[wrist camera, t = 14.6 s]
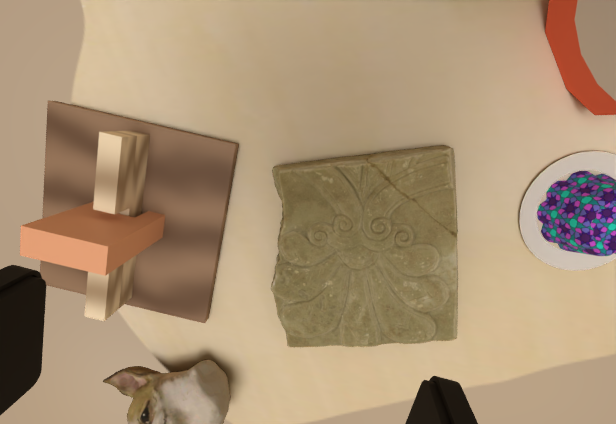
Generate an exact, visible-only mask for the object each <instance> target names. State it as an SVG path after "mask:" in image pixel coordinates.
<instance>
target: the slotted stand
mask: <svg viewBox="0 0 616 424" xmlns="http://www.w3.org/2000/svg"><path fill="white" fill-rule="evenodd" d="M47 110H48V111H47V130H46V131H47V132H46V152H45V153H46V154H45V175H44V176H45V177H44V197H43V218H46V217H49V216H52V215H55V214H58V213H61V212H64V211H67V210H70V209H73V208H76V207H79V206H82V205H85V204H88V203H91V202H94V204H93V209H94V210H98V211H102V212H106V213H110V214H117V213H118V214H122V215H126V216H131V217H137V216H139V215H141V214H143V213H145V212H148V211H151V212H155V213H159V214H163V215H165V222H164V230H163V237H162V238H161V239H159V240H158V241H156V242H155V243H153V244H152V245H150V246H149V247H147V248H146V249H144V250H143V251H141V252H140V253H139V254H137V255H136V256H134V257H133V258H131V259H130V260H128V261H127V262H125V263H124V264H122V265H121V266H119V267H118V268H116V269H115V270H113V271H112V272H110V273H109V274H107V275H106V276H104V275H100V274H96V273H92V272H88V271H84V270H79V269H75V268H71V267H67V266H63V265H58V264H54V263H50V262H46V261H42V260H41V264H40V274H41V276H42V279H43V280H45V282H46V285H48V286H52V287H56V288H60V289H64V290H69V291H73V292H77V293H81V294H85V295H86V304H85V317H90V318H94V319H98V320H102V321H105V320H106V319H107V318H108V317H110V316H111V315H112V314H113V313H114V312H115V311H117V310H118V309H119V308H120V307H121V306H122V305H124V304H127V305H131V306H135V307H139V308H143V309H147V310H152V311H156V312H160V313H164V314H168V315H172V316H177V317H181V318H185V319H189V320H193V321H197V322H202V323H205V322H206V321H207V319H208V318H209V312H210V307H211V301H212V295H213V289H214V284H215V278H216V272H217V266H218V261H219V255H220V249H221V243H222V238H223V232H224V226H225V221H226V215H227V209H228V203H229V198H230V192H231V186H232V180H233V175H234V169H235V163H236V157H237V152H238V146H239V144H237V143H233V142H229V141H225V140H220V139H216V138H212V137H207V136H203V135H199V134H194V133H190V132H186V131H182V130H177V129H173V128H169V127H164V126H160V125H156V124H152V123H147V122H143V121H139V120H134V119H130V118H126V117H122V116H117V115H113V114H109V113H104V112H100V111H96V110H92V109H87V108H83V107H79V106H74V105H70V104H65V103H62V102H57V101H48V108H47Z"/></svg>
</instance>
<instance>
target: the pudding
mask: <svg viewBox="0 0 616 424" xmlns="http://www.w3.org/2000/svg"><path fill="white" fill-rule="evenodd" d="M582 170H593V171H598V172H602V173H604V174H599V175H596V176H595V175H593V174H591V173H590V172H588V171H582ZM576 171H578V172H576ZM572 172H576V173H573V174H571V176H570V177H569V178H568V179H567V180H566V181H557V182H556V183H554V182H555V181H556V180H558V179H560V178H561V177H563V176H565V175H567V174H570V173H572ZM605 174H606V175H605ZM553 183H554V184H553ZM552 184H553V185H552ZM550 185H551V186H550ZM549 187H550V188H549ZM548 188H549V189H548ZM547 189H548V191H547V200H546V201H544V202H543V203H542V204H540V206H539V208H538V204H539V202H540V199H541V197H542V196H543V194H544V193H545V191H546V190H547ZM537 208H538V211H537ZM536 214H537V215H538V219H539V220H540V221H541V222H542V223H543V226H542V230H541V232H542V235H543V237H544V238H545V239H546V240H547V241H549V242H553V243H558V245H559V247H560V248H561V249H563V250H560V249H558V248H556V247H553V246H552V245H551V244H549V243H548V242H547V241H546V240H545V239H544V238H543V237H542V235H541V233H540V232H539V229H538V226H537V220H536ZM519 223H520V229H521V234H522V237H523V239H524V242H525V244H526V245H527V247H528V248H529V250H530V251H531V252H532V253H533V254H534V255H535V256H536V257H537V258H538V259H540V260H541V261H542V262H544V263H546V264H548V265H550V266H552V267H555V268H559V269H563V270H572V271H578V270H588V269H592V268H597V267H599V266H602V265H605V264H607V263H609V262H611V261H613V260H615V259H616V154H612V153H608V152H602V151H588V152H580V153H576V154H572V155H569V156H567V157H565V158H562V159H560V160H558V161H557V162H555V163H553V164H552V165H550V166H549V167H547V168H546V169H545V170H544V171H543V172H542V173H540V174H539V176H538V177H537V178H536V179H535V180H534V181H533V182H532V184H531V186H530V187H529V189H528V190H527V192H526V194H525V197H524V199H523V201H522V205H521V210H520V222H519ZM564 250H566V251H564Z"/></svg>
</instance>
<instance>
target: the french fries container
mask: <svg viewBox="0 0 616 424" xmlns="http://www.w3.org/2000/svg"><path fill="white" fill-rule="evenodd" d="M545 33H546V36H547V39H548V41H549V44H550V47H551V49H552V52H553V55H554V57H555V60H556V63H557V65H558V68H559V70H560V73H561V76H562V78H563V81H564V84H565V86H566V89H567V90H568V91H569V92H570V93H572V94H573V95H574V96H575V97H576V98H577V99H578V100H579V101H580V102H581V103H582V104H583V105H584V106H585V107H586V108H587V109H589V110H590V111H591V112H592V113H593V114H594V115H616V0H549V5H548V13H547V22H546V30H545Z"/></svg>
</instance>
